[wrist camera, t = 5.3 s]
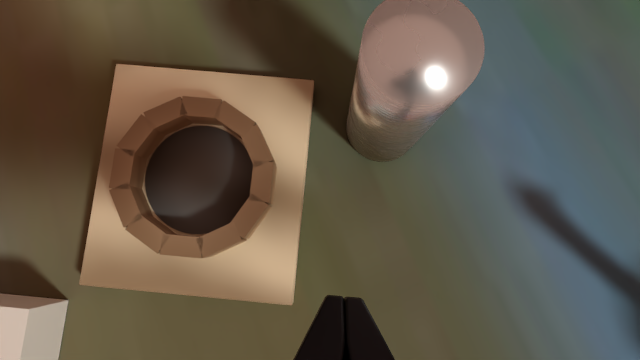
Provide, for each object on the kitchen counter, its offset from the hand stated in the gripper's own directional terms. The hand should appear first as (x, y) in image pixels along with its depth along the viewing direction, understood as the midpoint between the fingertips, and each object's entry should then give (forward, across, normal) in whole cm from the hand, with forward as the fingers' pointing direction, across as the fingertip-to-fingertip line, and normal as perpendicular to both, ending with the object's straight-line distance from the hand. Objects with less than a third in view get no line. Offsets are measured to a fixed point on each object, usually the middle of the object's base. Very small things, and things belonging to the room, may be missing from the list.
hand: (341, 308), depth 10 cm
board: (+13, +7, +6) cm, 15 cm away
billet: (+15, -2, +2) cm, 15 cm away
